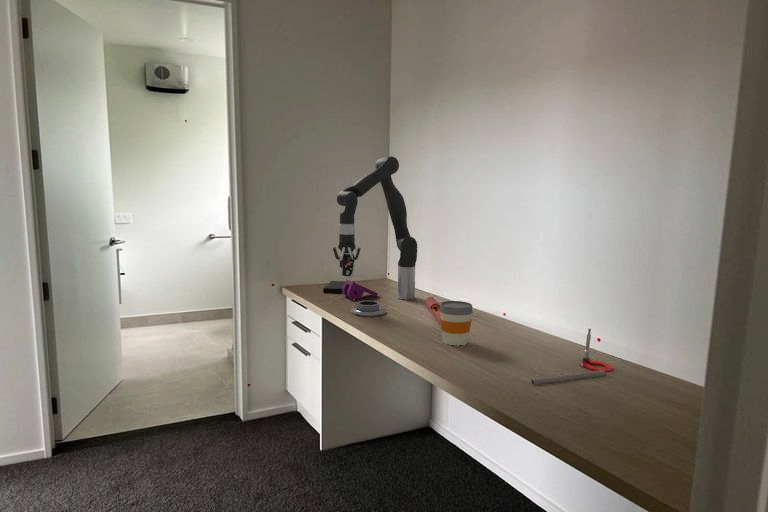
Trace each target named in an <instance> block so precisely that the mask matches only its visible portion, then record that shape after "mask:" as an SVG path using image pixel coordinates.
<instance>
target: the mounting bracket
mask: <svg viewBox="0 0 768 512" xmlns="http://www.w3.org/2000/svg"><path fill="white" fill-rule="evenodd" d="M354 282H355V281H352V280H350V279H348V278H345V284H344V286H343V288H342V292H343V295H344V296H345V297H347V298H349V299H351V300H352V299H358V300H360V299H361V298H362V297H363V294H364V293H367V294H369V295H371V296H374V297H378V295H379V293H378V292H375V290H372V289H369V288H367V287H365V286H362V285H360V284H359V283H356V282H355V283H354Z"/></svg>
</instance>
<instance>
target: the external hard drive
mask: <svg viewBox="0 0 768 512" xmlns="http://www.w3.org/2000/svg"><path fill="white" fill-rule="evenodd" d="M345 281H346V280H345ZM345 281H344V280H330V282H329V283H328V284H327V285H325V286H324V287H323V288H322V293H324V294H341V293H343V292H342V288H343V286H344V284H345ZM353 282H354V283H356V281H353Z"/></svg>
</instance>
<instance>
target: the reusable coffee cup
mask: <svg viewBox="0 0 768 512" xmlns="http://www.w3.org/2000/svg"><path fill="white" fill-rule="evenodd" d="M439 305H440V310H439V311H440V314H441V317H440V324H439V326H440V330H441V333H442V334H441V335H442V336H441V337H442V343H443V342H444V343H446V344H449V345H448V346H450V345H457V346H456V347H460V346H459V345H463V346H465V344H466V345H467V342H468V338H469V337H468V336H469V332H470V331H471V325H472V320H473V319H472V314H473V313H474V311H473V304H472V303H470V302H467V301H461V300H444V301H441V302H440V304H439ZM444 343H443V344H444ZM446 344H445V345H446Z"/></svg>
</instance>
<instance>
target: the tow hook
mask: <svg viewBox="0 0 768 512" xmlns="http://www.w3.org/2000/svg"><path fill="white" fill-rule="evenodd" d="M591 332H592V329H591V328H588V330H587V334H586V342H585V349H584V351H583V357H582V362H580V364H579V366H580V368H586V369H588V370H591V371H599V370H604V371H605V372H606V373H609V372H612V370H613V367H612V366H611V365H610V364H608V363H605V362H602V361H597V360H592V359H591V358H590V346H591V337H592V334H591ZM593 365H596V366H601V367H604V368H599V367H595V366H593Z"/></svg>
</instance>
